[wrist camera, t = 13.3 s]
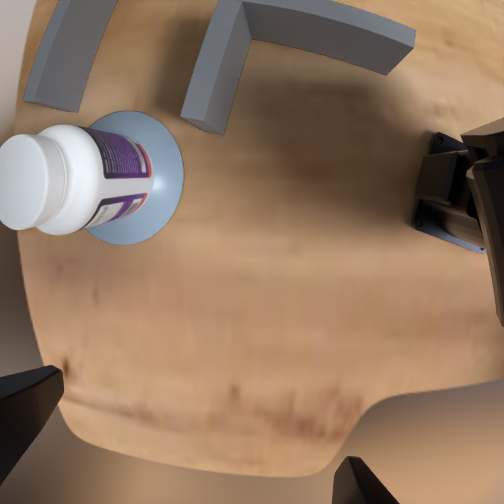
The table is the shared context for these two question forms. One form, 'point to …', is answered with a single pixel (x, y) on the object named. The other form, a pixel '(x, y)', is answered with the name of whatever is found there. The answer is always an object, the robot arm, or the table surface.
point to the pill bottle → (72, 179)
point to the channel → (216, 48)
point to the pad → (165, 178)
